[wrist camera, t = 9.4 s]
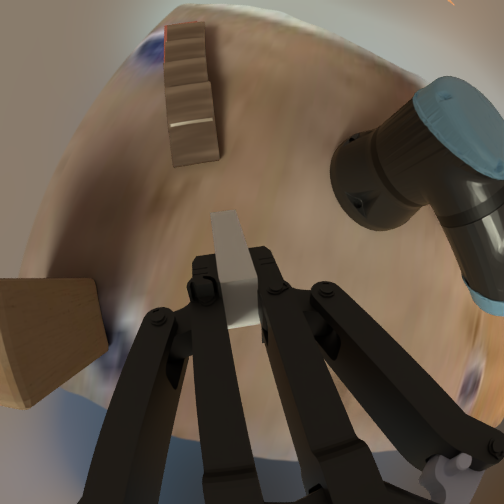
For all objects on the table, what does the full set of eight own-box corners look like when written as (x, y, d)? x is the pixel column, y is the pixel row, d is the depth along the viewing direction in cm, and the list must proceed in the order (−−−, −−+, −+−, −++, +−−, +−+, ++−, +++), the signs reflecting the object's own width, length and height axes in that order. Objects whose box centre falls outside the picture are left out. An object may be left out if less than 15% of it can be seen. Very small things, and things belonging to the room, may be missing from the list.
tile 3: (208, 98, 33) (204, 37, 30) (165, 103, 32) (165, 41, 29) (207, 101, 35) (204, 42, 32) (167, 106, 34) (166, 46, 31)
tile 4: (206, 75, 34) (204, 21, 31) (166, 79, 33) (167, 25, 30) (206, 79, 35) (204, 26, 32) (167, 83, 34) (168, 29, 31)
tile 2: (213, 126, 33) (205, 56, 30) (168, 133, 32) (163, 62, 29) (212, 128, 35) (205, 61, 32) (170, 135, 34) (164, 67, 31)
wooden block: (42, 286, 30) (-61, 290, 10) (97, 276, 31) (-9, 276, 11) (56, 354, 29) (-34, 400, 9) (112, 350, 31) (28, 416, 11)
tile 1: (219, 159, 33) (210, 81, 30) (173, 167, 32) (164, 88, 29) (218, 160, 35) (209, 85, 32) (174, 167, 34) (166, 92, 31)
